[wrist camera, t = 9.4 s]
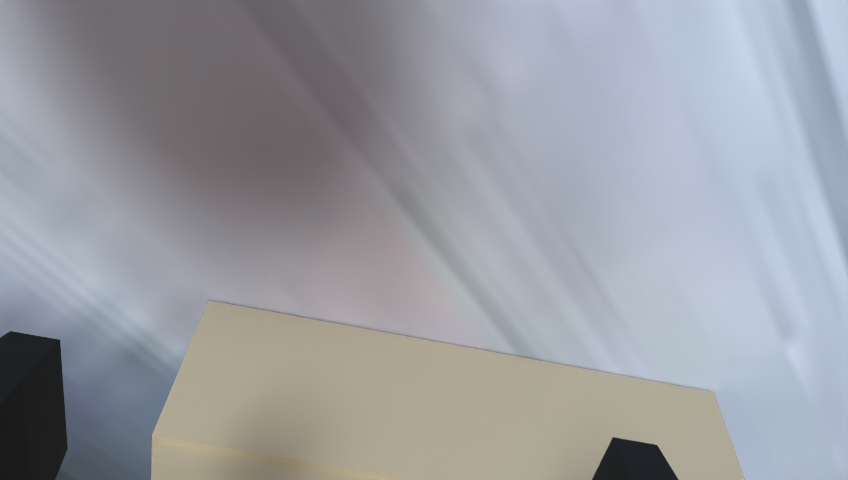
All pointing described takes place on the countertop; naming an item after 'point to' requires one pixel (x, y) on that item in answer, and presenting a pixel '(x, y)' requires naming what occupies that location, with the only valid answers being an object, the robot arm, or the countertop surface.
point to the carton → (409, 409)
